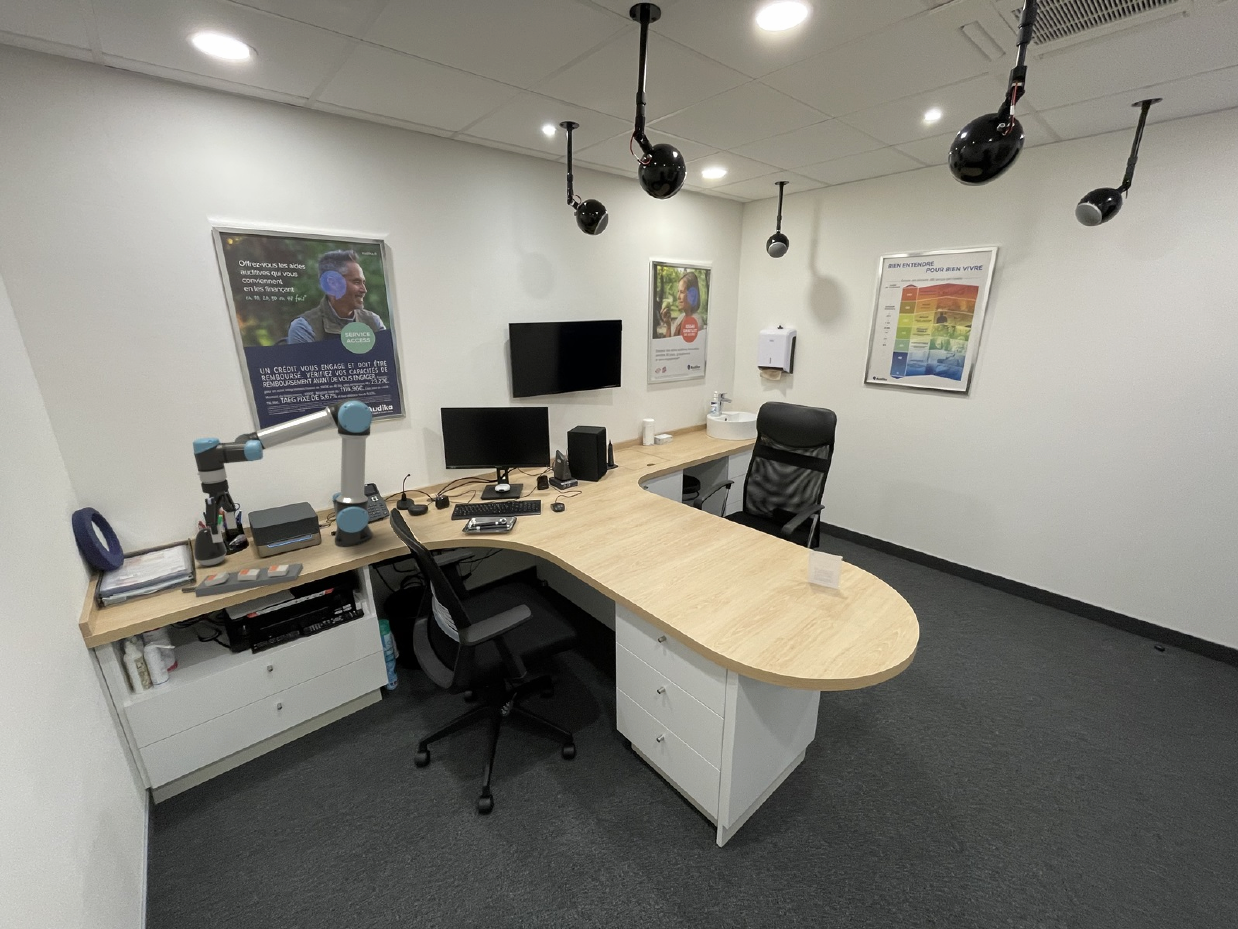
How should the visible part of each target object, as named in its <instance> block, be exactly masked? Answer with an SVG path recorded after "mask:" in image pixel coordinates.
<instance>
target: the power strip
mask: <svg viewBox="0 0 1238 929" xmlns="http://www.w3.org/2000/svg"><path fill="white" fill-rule="evenodd" d="M288 565H289V571H288V572H287V574H286V575H283V576H268V570H269V569H270V567H271V566H269V567H263V568H259V569H260V575H259V576H258V578H257V579H256V580H238V574H239V573H240V572H241V570H240V571H232V572H228V574H229V577H228V578H227V580H226V581H225V582H222V583H219V584H215V585H211V586H208V587H207V586H206V584H205V581H206V580H207V579H208V578H209V576H212V575H213V574H211V575H209V574H208V575H207V576H206V577H205V578H204V579H203V580H202V581H201V582H200V583H199V584H198V585H197V586H190V587H182V588H181V592H183V593H184V592H191V591H194V592H195V593H194V594H195V597H196V598H199V597H200V598H201V597H207V596H213V595H220V594H226V593H234V592H240V591H243V590H244V591H245V590H250V589H254V588H255V589H256V588H260V587H266V586H272V585H276V584H282V583H288V582H294V581H297V579H298V577H299V575H300V573H301V572H302V570H303V569H304V566H303V562H301V563H294V564H293V563H292V564H288Z"/></svg>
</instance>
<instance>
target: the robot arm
mask: <svg viewBox="0 0 1238 929" xmlns="http://www.w3.org/2000/svg"><path fill="white" fill-rule="evenodd" d="M372 422H373V413H372V411H371V409H370V408H369V406H368V405H367V404H365V402H364V401H363V400H361V399H358V398H354V397H353V398H352V397H351V398H346V399H343V400H340V401H338V402H336V403H333V404H330V405H327V406H326V407H325V409H323V410H320V411H316V412H313V413H311V414H307V415H303V416H300V417H298V418H295V419H290V420H288V421H285V422H281V423H278V424H275V425H272V426H269V427H268V426H267V427H266V428H262V429H259V430H257V431H253V432H250V433H242V434H240V435H238V436H237V437H236V438H235V440H234V441H231V442H221V441H220V439H219V438H218V437H203V438H198V439H195V440H194V441H193V442H192V447H193V448H192V449H193V455H194V458H195V464H196V467H197V471H198V472H197V475H198V476H199V480H200V482H201V483H200V485H201V486H200V487H201V489H202V490H201V491H202V492H203V493H204V494H207V495H208V498H205V499H204V503H205V528H210V531H211V535H212V540H213V543H216V542H223V543H224V538H223V536H222V535H223V534H222V530H221V525H220V523H219V518H220V517H219V516H220V509H221V508H222V509H223V510H224V511H225V512H224V518H225V523H226V528H227V530H231V529H238V526H237V522H236V517H235V516H236V515H235V512H236V511H237V508H236V504H235V503H234V501H233V499H232V496H231V494H230V492H229V486H230V485H229V482H228V479H227V477H228V476H227V471H226V467H225V464H232V463H233V464H234V463H244V462H254V461H260V460H263V458H264V450H267V449H269V448H272V447H275V446H278V445H281V444H284V443H288V442H290V441H293V440H297V439H299V438H302V437H306V436H308V435H312V434H314V433H315V434H316V433H317V432H318V433H319V432H321V431H324V430H327V429H329V428H336V429H337V434H338V435H339V437H341V456H340V457H341V459H340V460H341V462H340V463H341V464H340V465H341V468H340V470H341V471H340V492H336V493H334V494H333V495H332V504H333V510H334V515H335V523H336V531H335V535H334V545H335V546H336V547H338V548H349V547H356V546H359V545H362V544H365V543H368V542H369V541H370V540H372V538H374V535H373V532H372V529H371V527H370V526H369V524H368V523H369V520H370V515H369V509H368V508H369V507H368V506H369V505H368V504H369V498H368V496H366V495H365V476H366V472H365V471H366V446H367V445H366V444H367V443H366V441H367V438H369V437H370V436H371V426H372Z"/></svg>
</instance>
